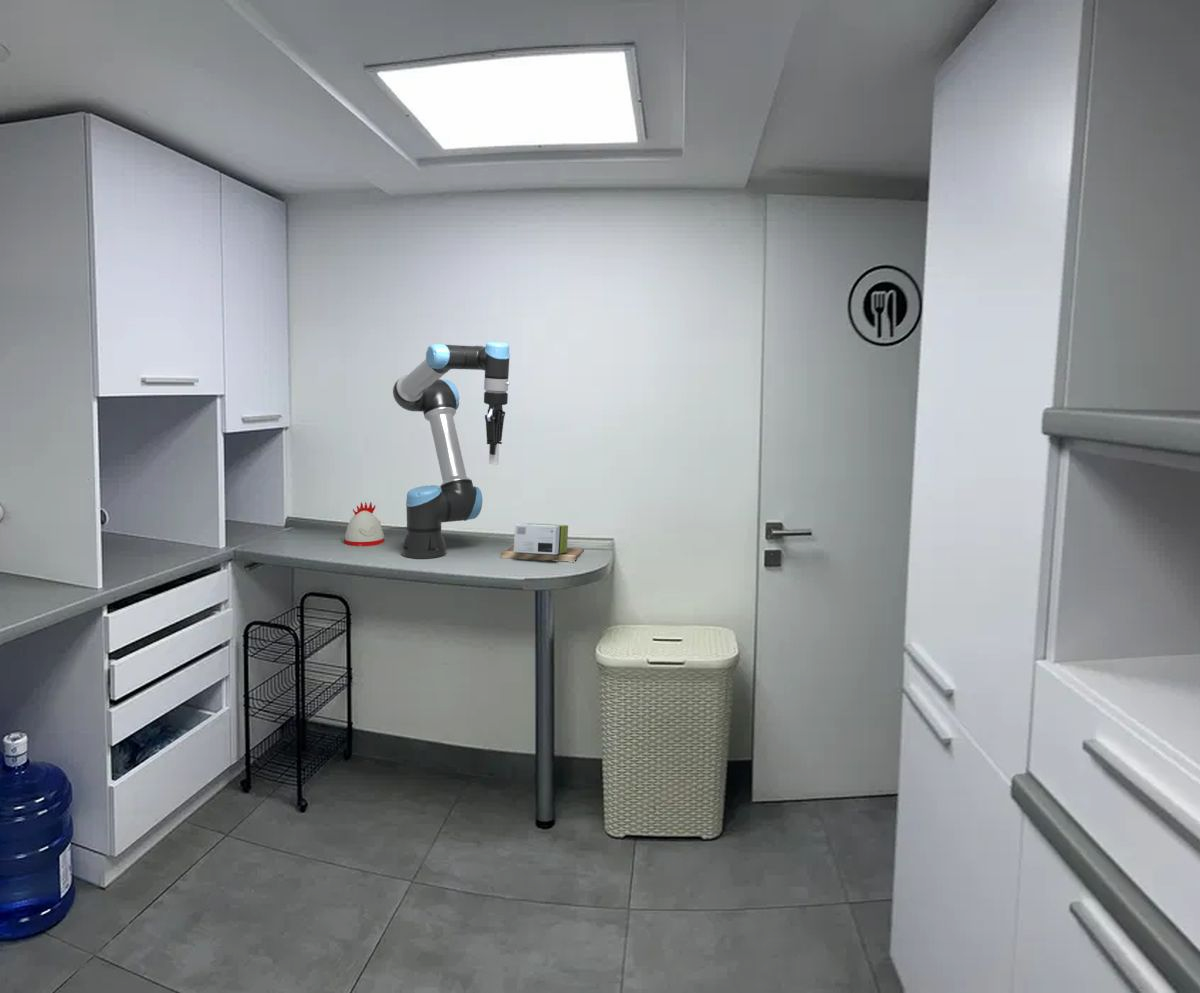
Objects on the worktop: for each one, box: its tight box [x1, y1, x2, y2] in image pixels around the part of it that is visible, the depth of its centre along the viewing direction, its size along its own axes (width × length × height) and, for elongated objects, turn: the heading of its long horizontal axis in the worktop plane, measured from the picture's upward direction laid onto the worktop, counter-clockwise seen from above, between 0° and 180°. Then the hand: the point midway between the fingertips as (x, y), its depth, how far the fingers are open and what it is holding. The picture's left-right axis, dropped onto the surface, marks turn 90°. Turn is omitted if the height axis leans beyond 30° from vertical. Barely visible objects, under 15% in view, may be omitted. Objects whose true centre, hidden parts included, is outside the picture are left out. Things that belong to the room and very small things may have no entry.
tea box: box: [513, 522, 569, 555], centre depth 262 cm, size 15×10×15 cm
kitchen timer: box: [344, 501, 385, 547], centre depth 278 cm, size 14×14×15 cm
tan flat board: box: [500, 544, 585, 562], centre depth 267 cm, size 26×18×2 cm
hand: (493, 463), depth 247 cm, fingers closed
